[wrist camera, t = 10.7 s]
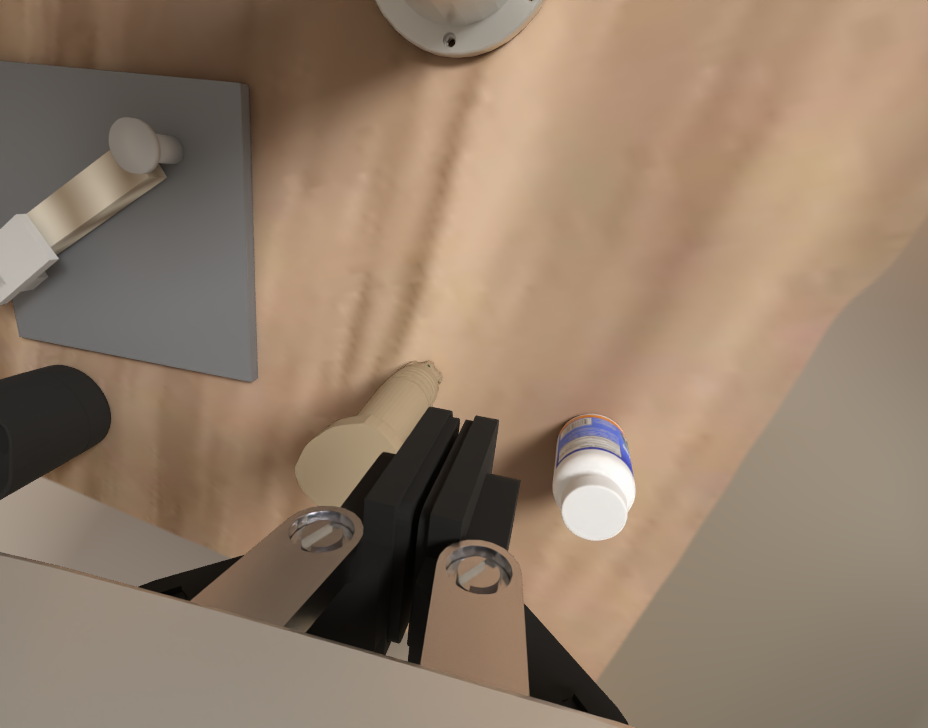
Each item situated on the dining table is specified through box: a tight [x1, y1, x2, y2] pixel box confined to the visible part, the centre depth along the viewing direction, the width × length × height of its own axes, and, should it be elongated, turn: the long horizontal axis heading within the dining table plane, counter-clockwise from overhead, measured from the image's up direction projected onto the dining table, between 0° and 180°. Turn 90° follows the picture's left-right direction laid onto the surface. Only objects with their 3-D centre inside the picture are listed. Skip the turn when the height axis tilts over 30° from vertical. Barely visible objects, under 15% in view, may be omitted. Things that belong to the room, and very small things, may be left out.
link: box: [27, 150, 167, 255], centre depth 40 cm, size 15×3×2 cm, turn 117°
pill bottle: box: [553, 414, 635, 541], centre depth 36 cm, size 5×5×10 cm
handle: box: [295, 361, 442, 507], centre depth 35 cm, size 5×6×15 cm
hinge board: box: [0, 61, 258, 382], centre depth 41 cm, size 23×24×5 cm
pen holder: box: [0, 365, 111, 500], centre depth 46 cm, size 9×9×10 cm
